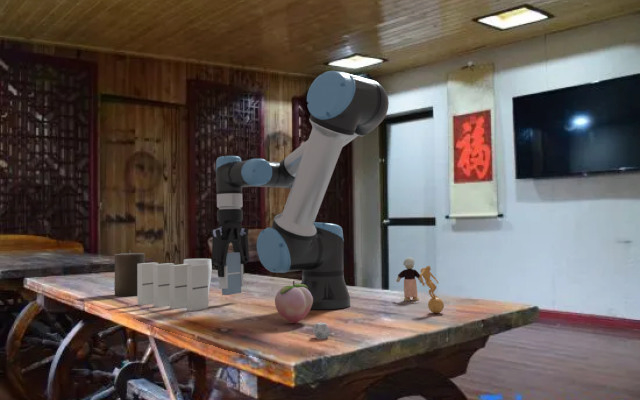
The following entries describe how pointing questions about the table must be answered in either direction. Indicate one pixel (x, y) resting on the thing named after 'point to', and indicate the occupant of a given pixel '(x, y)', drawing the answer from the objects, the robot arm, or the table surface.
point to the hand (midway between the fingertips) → (231, 287)
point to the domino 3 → (178, 286)
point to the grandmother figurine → (409, 280)
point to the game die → (321, 331)
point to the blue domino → (233, 274)
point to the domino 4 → (197, 287)
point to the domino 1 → (145, 283)
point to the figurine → (431, 291)
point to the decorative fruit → (293, 302)
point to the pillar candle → (127, 273)
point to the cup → (201, 262)
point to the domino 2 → (161, 284)
